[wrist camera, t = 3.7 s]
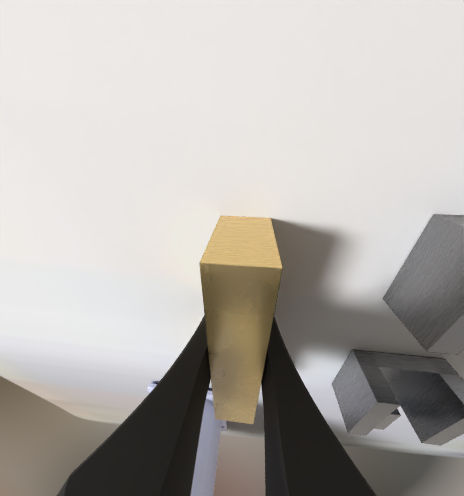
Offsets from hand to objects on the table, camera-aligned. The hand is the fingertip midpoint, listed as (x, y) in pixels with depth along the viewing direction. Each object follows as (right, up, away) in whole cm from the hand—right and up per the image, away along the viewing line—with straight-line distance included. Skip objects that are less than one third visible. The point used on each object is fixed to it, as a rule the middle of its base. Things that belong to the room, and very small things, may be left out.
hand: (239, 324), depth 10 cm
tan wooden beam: (0, +1, +1) cm, 2 cm away
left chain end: (+11, -6, +4) cm, 13 cm away
